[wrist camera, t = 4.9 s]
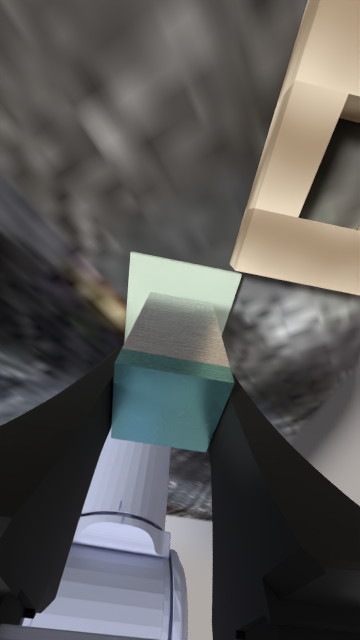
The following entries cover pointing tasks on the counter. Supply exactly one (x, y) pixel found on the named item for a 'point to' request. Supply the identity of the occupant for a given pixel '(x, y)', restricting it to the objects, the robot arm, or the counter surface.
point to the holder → (306, 158)
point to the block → (171, 375)
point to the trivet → (178, 285)
